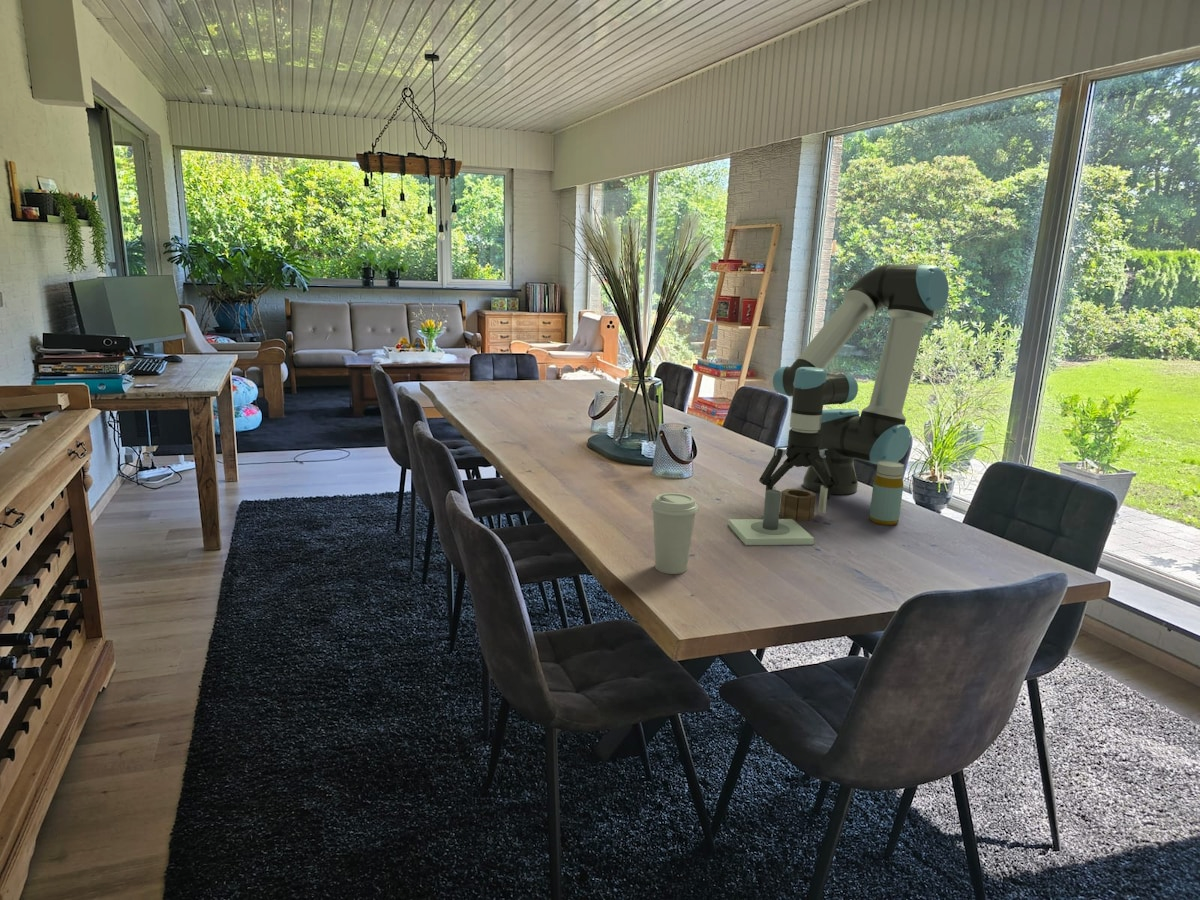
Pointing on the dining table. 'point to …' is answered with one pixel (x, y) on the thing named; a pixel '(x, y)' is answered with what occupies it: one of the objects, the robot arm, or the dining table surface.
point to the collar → (797, 504)
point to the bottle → (887, 493)
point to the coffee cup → (673, 531)
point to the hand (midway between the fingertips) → (796, 511)
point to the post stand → (770, 526)
